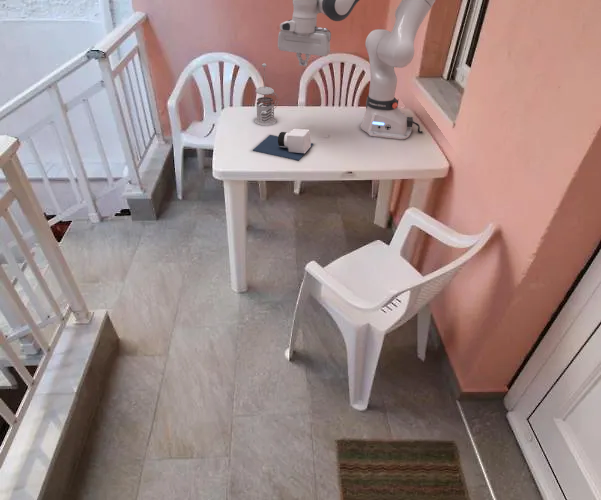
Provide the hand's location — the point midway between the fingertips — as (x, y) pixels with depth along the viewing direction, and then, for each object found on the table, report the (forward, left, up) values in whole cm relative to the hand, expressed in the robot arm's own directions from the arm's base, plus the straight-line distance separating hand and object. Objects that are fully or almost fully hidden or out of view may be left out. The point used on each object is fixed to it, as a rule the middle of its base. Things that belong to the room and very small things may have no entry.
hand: (303, 65), depth 160 cm
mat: (+2, +14, -29) cm, 32 cm away
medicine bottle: (-8, +14, -24) cm, 29 cm away
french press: (+20, -8, -29) cm, 36 cm away
